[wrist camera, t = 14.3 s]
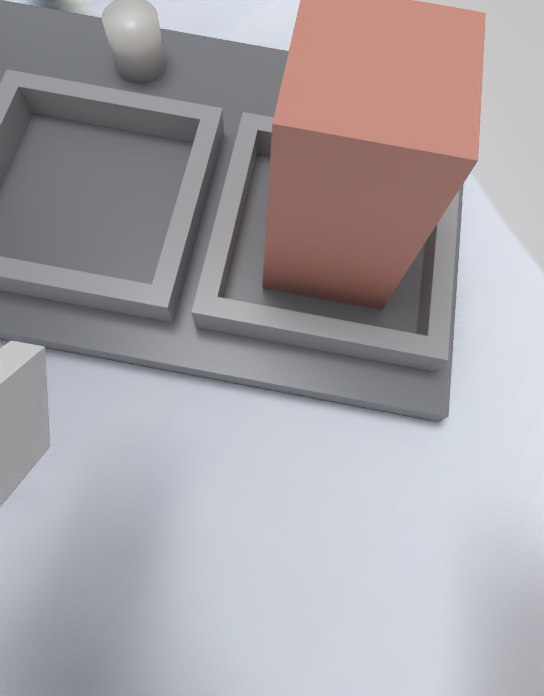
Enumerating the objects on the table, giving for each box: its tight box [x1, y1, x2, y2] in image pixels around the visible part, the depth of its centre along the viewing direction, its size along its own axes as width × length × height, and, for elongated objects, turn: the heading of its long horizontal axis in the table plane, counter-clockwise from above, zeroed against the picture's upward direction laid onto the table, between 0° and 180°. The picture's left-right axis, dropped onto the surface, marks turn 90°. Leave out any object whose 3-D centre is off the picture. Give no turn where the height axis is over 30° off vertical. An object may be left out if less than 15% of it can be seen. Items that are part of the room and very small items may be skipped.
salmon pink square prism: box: [262, 0, 486, 310], centre depth 17 cm, size 5×5×9 cm
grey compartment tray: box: [0, 0, 463, 421], centre depth 21 cm, size 32×17×3 cm, turn 80°
